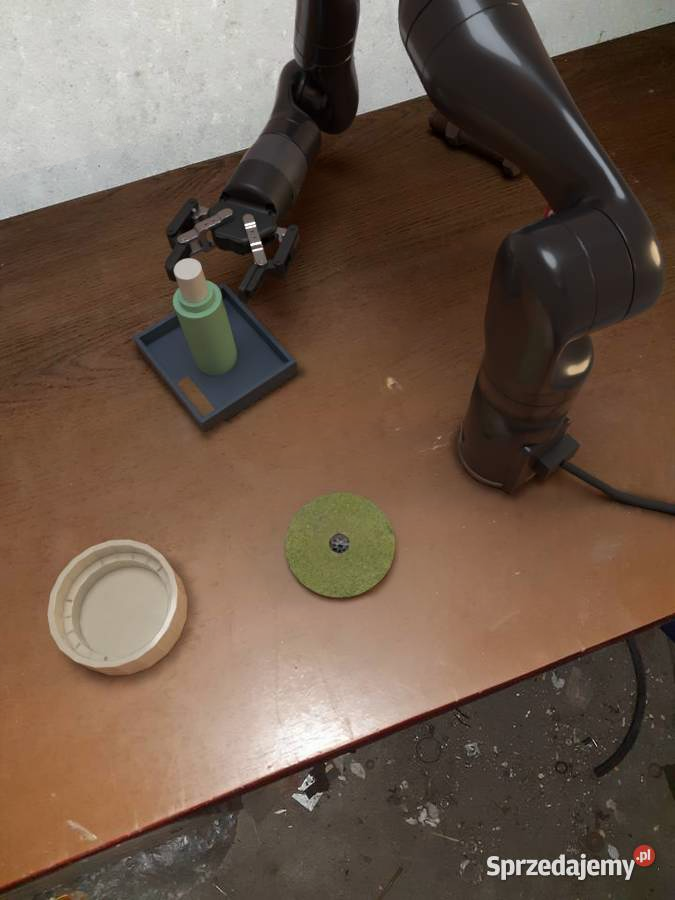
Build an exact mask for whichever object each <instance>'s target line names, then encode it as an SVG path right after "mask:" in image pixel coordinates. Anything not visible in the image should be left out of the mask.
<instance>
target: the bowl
mask: <svg viewBox="0 0 675 900" xmlns="http://www.w3.org/2000/svg"><path fill="white" fill-rule="evenodd" d="M188 602H189V601H188V596H187V592H186V589H185V584H184V582H183V580H182V578H181V577H180V576H179V575H178V573H177V572H176V570H175V569H174V567H173V566H172V565H171V563H170V562H169V561H168V560H167V559H166V558H165V556H164V555H163V554H162V553H160V552H159V551H158V550H157V549H156V548H153V547H152V546H151V545H149V544H146V543H144V542H141V541H136V540H132V539H110V540H107V541H104V542H100V543H98V544H95V545H93V546H90V547H88V548H87V549H86V550H83V551H82V552H81V553H79V554H78V555H77V556H75V557H73V558H72V560H70V562H69V563H68V564H67V565H66V566H65V567H64V568H63V570H62V571H61V572H60V573H59V575H58V577H57V579H56V581H55V583H54V585H53V587H52V589H51V591H50V595H49V601H48V606H47V614H46V616H47V621H48V626H49V632H50V635H51V637H52V638H53V640H54V642H55V644H56V645H57V647H58V649H59V650H60V651H61V652H62V653H63V654H65V655H66V656H67V657H68V658H69V659H71V660H72V661H73V662H75V663H76V664H79V665H81V666H83V667H85V668H86V669H89V670H91V671H94V672H97V673H101V674H103V675H106V676H130V675H133V674H135V673H139V672H141V671H144V670H146V669H147V670H148V669H149V668H151V667H152V666H153V665H155V664H156V663H157V662H159V661H160V660H161V659H163V658H164V657H166V655H168V654H169V652H170V651H171V650H172V648H173V647H174V646H175V644H176V643H177V642H178V640H179V639H180V637H181V635H182V632H183V629H184V627H185V624H186V621H187V617H188V604H189V603H188Z"/></svg>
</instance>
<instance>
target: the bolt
mask: <svg viewBox="0 0 675 900" xmlns="http://www.w3.org/2000/svg"><path fill="white" fill-rule="evenodd" d="M427 121H428V126H429V127H430V128H431V129H433V130H435V131H436V132H439V133H441V134H443V135H444V136H445V139H446V141H447V142H448V144H449V145H451V146H454V147H455V148H457V147H460V146H462V145H463V144H465V145H466V146H469V147H471V148H473V149H475V150H477V151H480V152H482V153H484V154H486V155H487V156H491V157H493V158H495V159H496V160H497V161H498V162H500V163H502V164H501V165H502V168H503V171H504V174H505V175H507V176H510V177H511V178H513V177H515V176H517V175H519V174H520V173H521V172H522V171H521V170H520V169H519V168H518V167H516V166H515V165H514V164H512V163H511V162H510V161H508V160H507V159H505V158H504V157H502V156H501V155H499V154H498V153H496V152H494V151H493V150H491V149H489V148H488V147H486V146H485V145H483V144H481V143H480V142H478V141H477V140H475V139H474V138H472V137H470V136H469V135H467V134H466V133H464V132H463V131H462V130H460V129H459V128H457V127H456V126H455V125H453V124H452V123H451V122H450V121H448V120H447V119H446V118H445V117H444V116H443V115H442V114H441V113H440V112H439V111H438V110H437V109H436V108H433V109H431V111H430V116H429V117H428V120H427Z"/></svg>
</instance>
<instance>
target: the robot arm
mask: <svg viewBox="0 0 675 900" xmlns="http://www.w3.org/2000/svg"><path fill="white" fill-rule="evenodd" d="M360 16H361V0H295V15H294V29H293V30H294V31H293V42H292V43H293V46H292V47H293V49H292V51H293V56H294V57H293V59H290V60H289V61H288V62H286V63H285V64H284V66H283V67H282V69H281V70H280V73H279V77H278V81H277V84H276V90H275V97H274V102H273V107H272V110H271V112H270V115H269V117H268V120H267V122H266V124H265V125H264V127H263V129H262V131H261V132H260V134H259V136H258V137H257V138H256V140H255V141H254V143H252V145H251V146H250V147H249V148H248V149H247V151H246V152H245V153H244V155H243V156H242V158H241V160H240V162H239V163H238V165H237V166H236V168H235V170H234V171H233V173H232V174H231V176H230V177H229V179H228V180H227V183H226V184H225V186H224V187H223V189H222V190H221V193H220V196H219V198H218V201H217V202H216V203H215V204H214V205H211V206H210V207H206V206H204V205H200V204H199V202H198V199H197V198H196V197H189V198H187V200H186V201H185V203H184V204H183V205H182V206H181V208H180V209H179V211H178V212H177V213H176V214H175V216H174V218H173V219H172V220H171V221H170V223H169V224H168V225H167V227H166V228H165V234H166V237H167V241H168V243H169V246H170V248H171V252H170V254H169V255H168V257H167V258H166V260H165V261H164V268H165V272H166V275H167V277H168V280H169V281H171V282H173V283H177V280H176V277H175V274H174V267H175V265H176V264H177V263H178V262H179V261H181V260H183V259H187V258H192V257H194V256H196V255H198V254H200V253H203V252H204V253H205V254H206V253H210V252H212V251H215V250H216V249H218V250H221V251H224V252H232V253H234V254H237V255H238V256H242V257H244V256H245V255H251V259H252V262H253V264H252V263H251V264H250V266H249V267H248V269H247V271H246V273H245V274H244V276H243V278H242V280H241V282H240V283H239V285H238V287H237V297H238V298H239V300H240V301H241V302H242V303H246V304H247V303H248V301H250V300H253V299H254V298H256V297H257V295H258V293H259V291H260V289H261V287H262V285H263V284H264V282H265V281H266V280H268V279H269V278H276V280H278V281H283V280H285V279H286V278H287V275H288V274H289V271H290V269H291V267H292V264H293V262H294V259H295V257H296V255H297V253H298V250H299V248H300V246H301V240H300V239H301V237H300V230H299V226H298V225H297V224H290V225H288V226H287V228H285V227H281V226H282V224H283V222H284V220H285V219H286V217H287V215H288V213H289V211H290V210H291V208H292V206H293V204H294V203H295V201H296V199H298V197H299V194H300V191H301V189H302V187H303V184H304V181H305V178H306V176H307V174H308V172H309V171H310V169H311V168H312V165H313V164H314V162H315V160H316V158H317V156H318V155H319V152H320V150H321V148H322V142H323V136H322V133H324V134H327V135H331V136H336V135H341V134H342V133H344V132H345V131H347V130H348V129H350V127H351V126H352V124H353V123H354V121H355V119H356V116H357V114H358V110H359V105H360V104H359V103H360V88H359V79H358V74H357V69H356V62H355V55H354V54H355V52H354V51H355V47H356V46H355V45H356V40H357V36H358V29H359V24H360ZM397 23H398V31H399V36H400V40H401V42H402V45H403V48H404V50H405V51H406V54H407V56H408V58H409V60H410V62H411V64H412V67H413V69H414V71H415V73H416V75H417V77H418V79H419V81H420V83H421V85H422V88H423V90H424V91H425V94H426V96H427V97H428V99H429V101H430V103H431V104H432V105H433V107H434V109H437V110H438V111H439V112H440V113H441V114H442V115H443V116H444V117H445V118H446V119H447V120H448V121H450V122H451V123H452V124H453V125H455V126H456V127H457V128H459V129H460V130H462V131H463V132H464V133H466V134H467V135H469V136H470V137H472V138H474V139H475V140H477V141H478V142H480V143H481V144H483V145H485V146H486V147H488V148H489V149H491V150H493V151H494V152H496V153H498V154H499V155H501V156H502V157H504V158H505V159H507V160H508V161H510V162H511V163H512V164H514V165H515V166H516V167H518V168H519V169H520V170H521V172H522V173H523V174H524V175H525V176H526V178H528V179H529V180H530V181H531V182H532V184H533V185H534V186H535V187H536V188H537V190H538V191H539V193H540V194H541V196H542V197H543V198H544V200H545V201H546V203H547V204H549V206H550V208H551V209H552V211H553V213H554V215H551V216H549V217H546V218H543V217H542V218H540V219H537V220H534V221H531V222H529V223H526V224H524V225H520V226H518V227H516V228H514V229H513V230H511V231H510V232H509V233H508V234H507V235H506V236H505V237H504V239H502V242H501V243H500V245H499V247H498V250H497V251H496V255H495V258H494V262H493V266H492V272H491V278H490V284H489V290H488V296H487V302H486V307H485V312H484V320H483V337H484V338H483V339H484V349H483V353H482V356H481V360H480V363H479V367H478V370H477V374H476V377H475V381H474V384H473V388H472V390H471V395H470V399H469V402H468V406H467V409H466V413H465V417H464V419H462V421H461V425H460V433H459V435H458V440H457V454H458V458H459V461H460V463H461V465H462V466H463V468H464V469H465V470H466V472H467V473H468V474H469V475H470V476H471V477H472V478H473V479H475V480H476V481H478V482H480V483H482V484H484V485H487V486H489V487H494V488H500V489H502V490H503V491H505V493H506V494H508V495H511V494H513V493H514V492H515V491H516V490H517V489H519V488H520V487H521V486H523V485H524V484H525V483H527V482H529V481H530V480H531V479H532V478H533V477H535V475H537V476H539V478H540V479H541V480H542V481H545V480H547V479H548V478H549V477H550V476H551V475H553V474H554V473H555V472H557V470H559V469H562V470H564V471H565V472H567V473H569V474H570V475H572V476H574V477H575V478H578V479H579V480H581V481H582V482H584V483H586V484H588V485H589V486H591V487H593V488H595V489H596V490H598V491H600V492H602V493H603V494H605V495H606V496H608V497H610V498H612V499H614V500H617V501H619V502H622V503H625V504H627V505H631V506H635V507H638V508H644V509H649V510H653V511H659V512H664V513H667V514H668V513H669V514H673V515H675V504H674V503H669V502H664V501H659V500H653V499H648V498H644V497H640V496H635V495H632V494H629V493H626V492H623V491H621V490H619V489H616V488H614V487H613V486H611V485H610V484H608V483H607V482H604V481H603V480H601V479H599V478H597V477H596V476H594V475H592V474H591V473H588V472H587V471H585V470H584V469H582V468H581V467H579V466H577V465H575V464H573V463H572V462H570V460H571V459H572V458H574V456H575V455H576V454H577V452H578V450H580V449H579V448H580V447H581V444H580V443H579V442H578V441H577V440H576V439H575V438H573V436H572V435H570V433H568V432H567V431H568V429H569V428H570V426H571V425H572V420H571V419H570V418H569V417H568V414H569V412H570V410H571V408H572V406H573V405H574V403H575V401H576V399H577V397H578V395H579V393H580V392H581V390H582V388H583V386H584V384H585V382H586V381H587V379H588V377H589V375H590V373H591V371H592V368H593V366H594V365H593V364H594V358H595V349H594V348H595V347H594V343H593V341H592V338H591V336H590V335H591V334H594V333H597V332H599V331H601V330H604V329H607V328H610V327H612V326H614V325H617V324H620V323H622V322H625V321H627V320H629V319H632V318H634V317H637V316H638V315H642V314H643V313H645V312H647V311H648V310H650V309H651V308H653V306H655V305H656V304H657V302H658V301H659V299H660V298H661V295H662V293H663V291H664V286H665V282H666V281H665V280H666V267H665V265H666V263H665V258H664V254H663V251H662V246H661V243H660V240H659V237H658V235H657V233H656V230H655V228H654V226H653V224H652V221H651V220H650V218H649V216H648V214H647V212H646V211H645V209H644V207H643V206H642V204H641V202H640V201H639V199H638V197H637V196H636V195H635V192H633V190H632V188H631V187H630V185H629V184H628V183H627V180H626V179H625V178H624V176H623V175H622V173H621V172H620V171H619V169H618V167H617V165H616V164H615V163H614V162H613V160H612V159H611V156H610V155H609V154H608V153H607V151H606V149H605V148H604V147H603V145H602V143H601V142H600V141H599V139H598V137H597V135H596V134H595V133H594V132H593V130H592V129H591V127H590V126H589V124H588V123H587V121H586V119H585V117H584V116H583V114H582V112H581V111H580V109H579V107H578V106H577V103H576V101H575V100H574V98H573V97H572V95H571V93H570V91H569V89H568V88H567V86H566V84H565V82H564V81H563V79H562V77H561V75H560V73H559V72H558V69H557V67H556V65H555V64H554V62H553V60H552V58H551V56H550V54H549V52H548V51H547V49H546V47H545V44H544V42H543V40H542V38H541V36H540V34H539V32H538V29H537V26H536V25H535V22H534V20H533V19H532V16H531V14H530V12H529V10H528V8H527V7H526V4H525V2H524V0H398V8H397ZM208 232H210V233H211V238H209V239H208V238H207V233H208ZM276 240H278V245H279V246H278V248H277V251H276V252H275V255H274V257H273V259H267V256H266V254H265V250H264V247H266V246H268V245H270V244H272V243H274V242H275V241H276ZM191 243H192V244H191Z"/></svg>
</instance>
